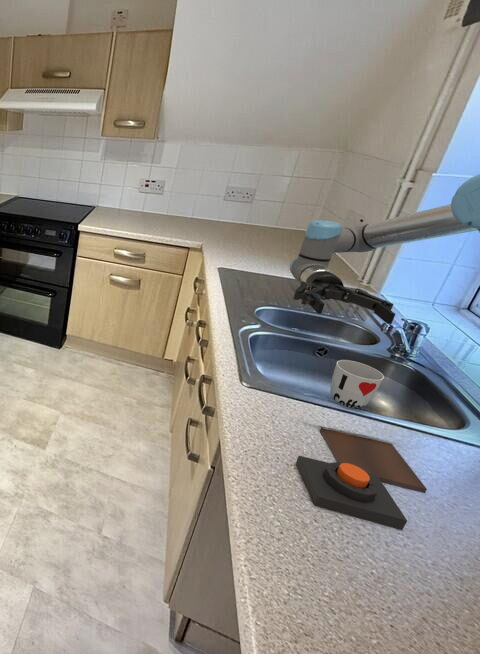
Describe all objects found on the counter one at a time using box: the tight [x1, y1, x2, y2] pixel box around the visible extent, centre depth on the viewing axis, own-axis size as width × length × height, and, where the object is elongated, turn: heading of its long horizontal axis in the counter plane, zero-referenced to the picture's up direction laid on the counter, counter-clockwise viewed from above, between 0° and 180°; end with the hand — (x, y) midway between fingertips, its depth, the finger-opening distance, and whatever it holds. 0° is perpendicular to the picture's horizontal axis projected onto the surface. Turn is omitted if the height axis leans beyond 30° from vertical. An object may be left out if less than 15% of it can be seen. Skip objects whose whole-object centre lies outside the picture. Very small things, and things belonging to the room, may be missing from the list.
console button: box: [337, 463, 370, 489], centre depth 73 cm, size 4×4×2 cm
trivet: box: [319, 427, 428, 494], centre depth 82 cm, size 12×12×1 cm
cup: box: [329, 359, 385, 410], centre depth 96 cm, size 8×8×10 cm
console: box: [295, 455, 408, 531], centre depth 73 cm, size 12×10×4 cm
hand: (355, 313), depth 99 cm, fingers open, 13 cm apart
